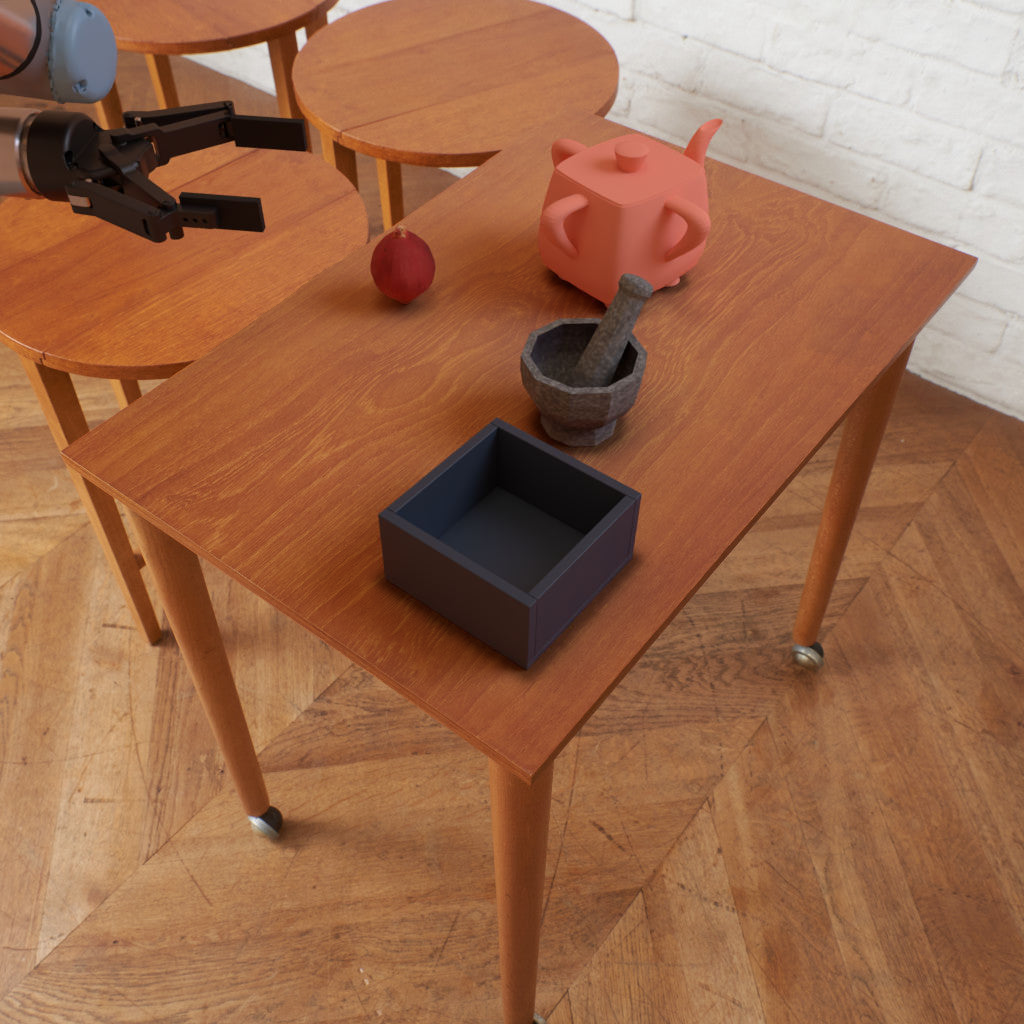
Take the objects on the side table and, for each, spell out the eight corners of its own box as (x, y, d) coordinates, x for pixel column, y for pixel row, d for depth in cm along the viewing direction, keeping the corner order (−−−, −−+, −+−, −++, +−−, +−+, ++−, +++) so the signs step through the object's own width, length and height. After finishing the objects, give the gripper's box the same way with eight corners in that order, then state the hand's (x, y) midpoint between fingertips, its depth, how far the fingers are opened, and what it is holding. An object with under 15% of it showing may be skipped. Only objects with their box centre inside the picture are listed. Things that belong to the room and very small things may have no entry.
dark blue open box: (526, 670, 69) (529, 607, 64) (384, 579, 74) (377, 514, 69) (632, 558, 76) (642, 493, 71) (496, 481, 81) (496, 416, 76)
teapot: (536, 321, 95) (542, 189, 86) (537, 229, 106) (542, 102, 97) (720, 327, 95) (746, 195, 86) (702, 233, 106) (724, 107, 97)
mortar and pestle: (571, 479, 81) (581, 354, 72) (496, 416, 86) (496, 293, 77) (674, 419, 86) (694, 296, 78) (596, 363, 91) (608, 242, 82)
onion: (368, 289, 98) (360, 212, 93) (427, 279, 100) (423, 203, 94) (381, 324, 95) (374, 247, 89) (443, 314, 96) (440, 237, 90)
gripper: (111, 129, 102) (325, 144, 101) (-6, 273, 85) (249, 294, 83) (90, 51, 97) (315, 66, 95) (-40, 189, 80) (232, 210, 78)
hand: (285, 173), depth 89 cm, fingers open, 13 cm apart
